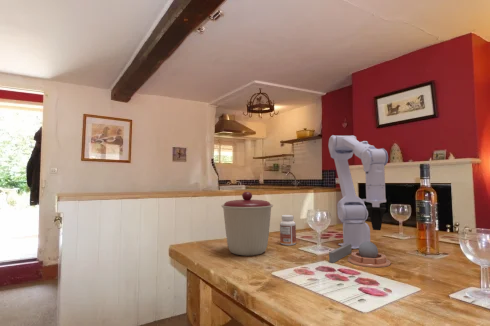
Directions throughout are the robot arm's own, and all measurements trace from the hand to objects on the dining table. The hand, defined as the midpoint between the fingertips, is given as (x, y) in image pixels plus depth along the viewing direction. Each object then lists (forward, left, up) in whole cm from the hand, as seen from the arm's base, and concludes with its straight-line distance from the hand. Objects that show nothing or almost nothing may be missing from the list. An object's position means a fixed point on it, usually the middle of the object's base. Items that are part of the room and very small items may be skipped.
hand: (376, 228), depth 94 cm
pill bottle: (+15, -30, -10) cm, 35 cm away
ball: (+6, +2, -6) cm, 9 cm away
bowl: (+6, +2, -9) cm, 11 cm away
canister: (+35, -24, -10) cm, 44 cm away
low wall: (+10, -5, -9) cm, 15 cm away
